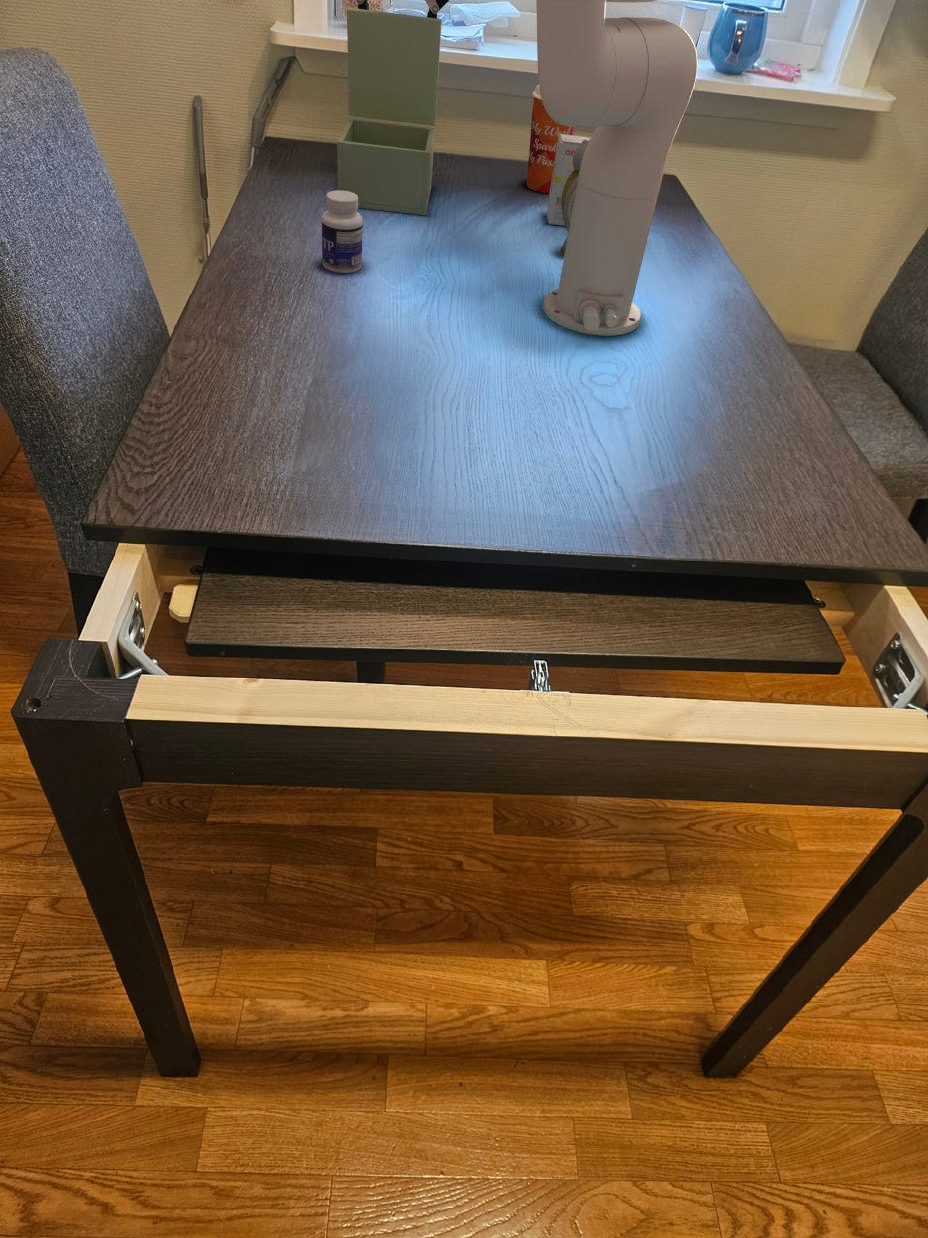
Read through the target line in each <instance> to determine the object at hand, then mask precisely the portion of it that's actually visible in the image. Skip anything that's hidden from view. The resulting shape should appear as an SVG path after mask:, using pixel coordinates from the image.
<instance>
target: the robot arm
mask: <svg viewBox="0 0 928 1238" xmlns="http://www.w3.org/2000/svg"><path fill="white" fill-rule="evenodd" d="M424 1H425V3H426V4H427V6H428V11H427V12H426V13H427V14H426V17H427V18H435V19H438V13H439V12H440V11H441V10H442V9H443V7H445V5H446V4H448V3H449V1H450V0H424ZM657 1H658V0H535V2H536V54H537V55H536V56H537V59H536V60H537V80H538V84H539V89H540V95H541V99H542V102H543V105H544V107H545V110H546V111H547V113H548V115H549V116H550V117H551V118H552V119H553V120H554V121H555V122H557V123H559V124H561V125H564V126H569V127H575V128H588V127H596V129H595V130H594V131H593V133H592V136H591V137H590V138H591V139H590V141H589V143H588V145H587V147H586V150H585V152H584V155H583V158H582V162H581V166H580V171H579V177H578V182H577V188H576V193H575V199H574V205H573V210H572V216H571V221H570V227H569V232H568V234H567V237H568V238H567V237H566V238H567V244H566V250H565V253H564V254H563V255H564V256H563V261H562V267H561V273H560V278H559V284H558V288H556V289H553V290H551V291H550V292H548V293H547V294H546V295H545V296H544V299H543V306H542V308H543V312H544V313H545V315H546V316H547V318H549V320H551V321H552V322H554V323H555V324H557V325H559V326H561V327H563V328H565V329H568V330H570V331H573V332H577V333H581V334H584V335H585V334H586V335H590V336H599V337H600V336H601V337H613V336H621V335H625V334H628V333H631V332H633V331H634V330H636V329H637V328H638V327H639V326H640V325H641V324H640V323H641V319H642V311H641V309H640V308H639V306H637V304H636V303H635V302H633V301H634V296H635V294H636V293H635V292H636V288H637V286H638V285H637V284H638V281H639V275H640V272H641V267H642V263H643V259H644V254H645V252H646V247H647V242H648V238H649V235H650V230H651V226H652V222H653V218H654V213H655V209H656V205H657V202H658V197H659V193H660V189H661V185H662V182H663V177H664V173H665V169H666V166H667V163H668V162H667V161H668V159H669V155H670V151H671V149H672V145H673V143H674V139H675V136H676V134H677V131H678V129H679V127H680V124H681V121H682V119H683V117H684V114H685V112H686V111H687V107H688V105H689V103H690V100H691V98H692V94H693V91H694V88H695V85H696V80H697V76H698V75H697V74H698V63H699V62H698V54H697V53H698V52H697V49H696V45H695V43H694V40H693V39H692V37H691V35H690V34H689V33H688V32H687V30H686V29H684V28H683V27H682V26H680V24H678V23H675V22H673V21H670V20H668V19H662V18H656V17H632V16H631V17H629V16H628V17H625V16H623V17H606V6H607V3H625V4H626V3H627V4H629V3H630V4H631V3H632V4H633V3H635V4H636V3H649V2H657ZM355 2H356V4H357V9H364V10H370V3H369V2H368V0H355Z"/></svg>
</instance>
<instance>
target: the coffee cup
mask: <svg viewBox="0 0 928 1238" xmlns="http://www.w3.org/2000/svg"><path fill="white" fill-rule="evenodd" d="M531 94H532V96H533V101H532V113H531V124H530V139H529V150H528V161H527V162H528V163H527V172H526V173H527V174H526V176H527V177H526V187H527V188H528V189H530V190H532V191H535V192H538V193H543V194H550V187H551V181H552V175H553V169H554V162H555V156H556V150H557V144H558V138H559V134H564V135H572V136H574V135H575V134H574V133H575V128H576V127H569V126H564V125H561V124H559V123H557V122H555V121H554V120H553V119H552V118H551V117H550V116H549V115H548V113H547V111H546V110H545V107H544V105H543V102H542V99H541V95H540V89H539V83H537V84H536V86H535V88H534V91H532V93H531Z"/></svg>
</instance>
